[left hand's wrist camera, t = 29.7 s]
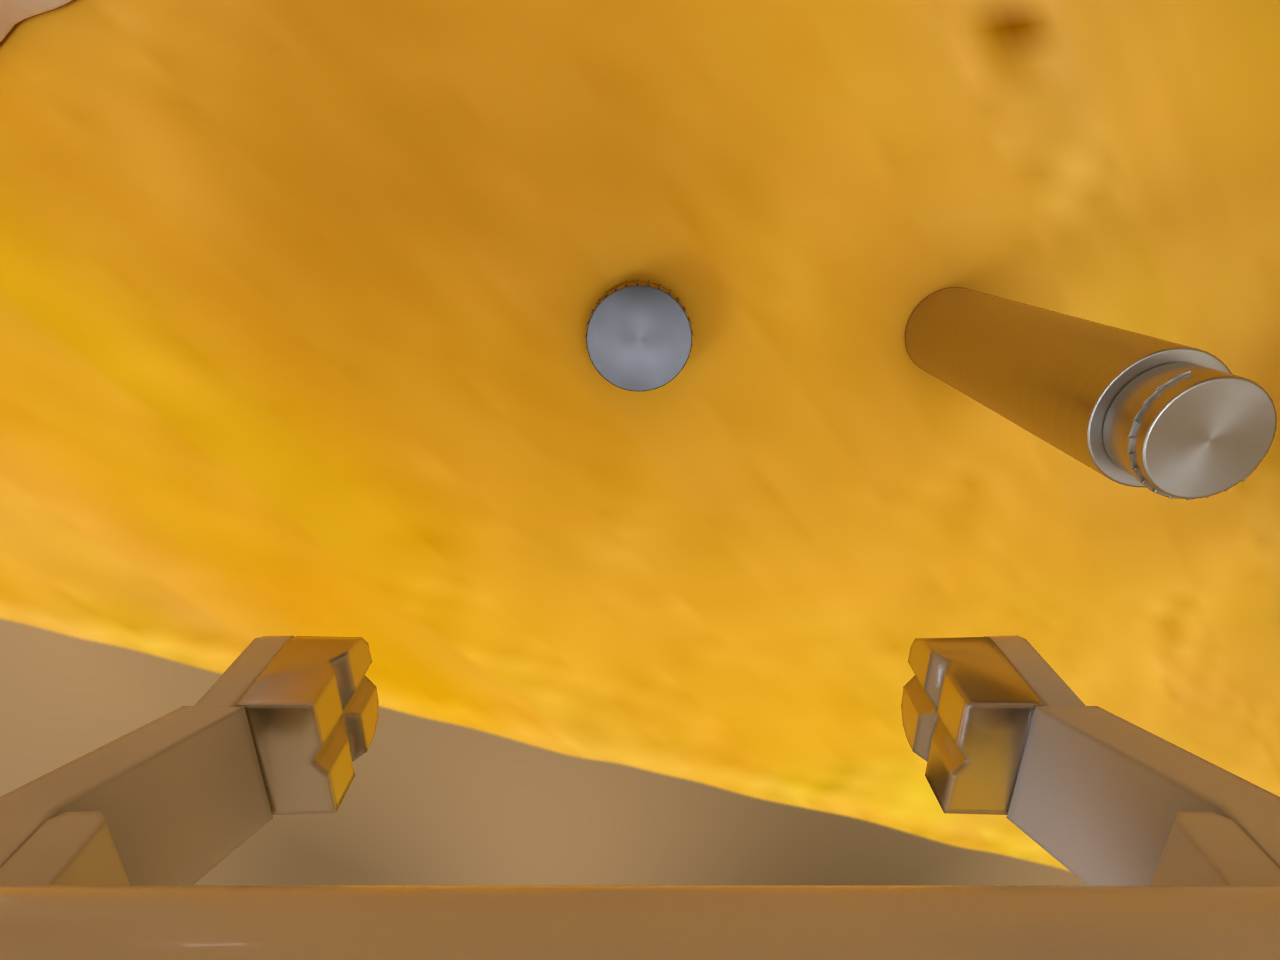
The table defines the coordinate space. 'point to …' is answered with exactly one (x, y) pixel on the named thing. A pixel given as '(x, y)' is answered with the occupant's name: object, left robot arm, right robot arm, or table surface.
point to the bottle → (1099, 391)
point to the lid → (639, 336)
